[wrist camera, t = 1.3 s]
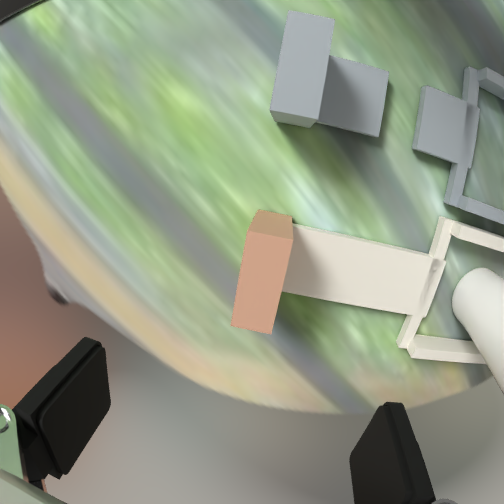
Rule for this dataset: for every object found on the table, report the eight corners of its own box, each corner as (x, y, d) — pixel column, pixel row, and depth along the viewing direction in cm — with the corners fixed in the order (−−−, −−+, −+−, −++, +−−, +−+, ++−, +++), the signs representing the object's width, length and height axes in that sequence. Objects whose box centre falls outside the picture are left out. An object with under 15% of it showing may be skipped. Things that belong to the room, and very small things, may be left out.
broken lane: (294, 15, 19) (295, -26, 13) (556, 124, 17) (600, 126, 11) (267, 157, 22) (260, 160, 16) (536, 236, 21) (578, 258, 15)
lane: (264, 172, 23) (256, 181, 17) (533, 247, 21) (574, 271, 15) (238, 313, 26) (224, 359, 20) (490, 351, 25) (519, 388, 19)
